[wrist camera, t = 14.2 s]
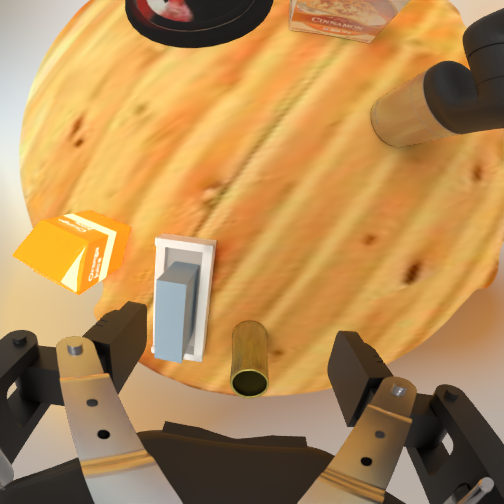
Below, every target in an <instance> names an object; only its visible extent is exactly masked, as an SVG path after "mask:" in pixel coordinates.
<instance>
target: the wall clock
mask: <svg viewBox="0 0 504 504" xmlns="http://www.w3.org/2000/svg"><path fill="white" fill-rule="evenodd" d="M272 3H273V0H125V10H126V14H127V17H128V19H129V21H130V23H131V24H132V26H133V27H134V28H135V29H136V30H137V31H138V32H139V33H140V34H141V35H143V36H145V37H147V38H149V39H150V40H152V41H155V42H158V43H161V44H164V45H169V46H175V47H187V48H198V47H207V46H214V45H218V44H222V43H226V42H229V41H232V40H234V39H237V38H239V37H242V36H243V35H245V34H247V33H248V32H250V31H252V30H253V29H255V28H256V27H257V26H258V25H259V24H260V23H261V22H262V21H263V20H264V19H265V17H266V16H267V14H268V13H269V11H270V9H271V6H272Z"/></svg>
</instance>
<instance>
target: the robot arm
mask: <svg viewBox="0 0 504 504" xmlns="http://www.w3.org/2000/svg"><path fill="white" fill-rule="evenodd" d="M463 46H464V51H465V54H466V57H467V60H468V63H469V66H470V70H471V71H470V70H469V69H468V68H466V67H465V66H463V65H462V64H460V63H457V62H454V61H443V62H440V63H438V64H436V65H434V66H432V67H431V68H429V69H427V70H426V71H424V72H422V73H421V74H419V75H417V76H416V77H414V78H412V79H411V80H409V81H407V82H406V83H404V84H403V85H401V86H399V87H398V88H396V89H394V90H393V91H391V92H390V93H388V94H386V95H385V96H383V97H382V98H380V99H379V100H377V101H376V102H375V104H374V105H373V108H372V111H371V121H372V125H373V128H374V130H375V132H376V133H377V135H378V136H379V137H380V138H381V139H382V140H383V141H384V142H385V143H387V144H389V145H391V146H395V147H401V146H406V145H411V144H419V143H423V142H428V141H433V140H438V139H443V138H445V137H450V136H455V135H461V134H466V133H471V132H478V131H484V130H491V129H500V128H504V8H503V9H501V10H498V11H496V12H493V13H491V14H489V15H487V16H485V17H483V18H481V19H479V20H478V21H476V22H474V23H473V24H472V25H470V26H469V27H468V28H467V29H466V31H465V32H464V35H463ZM146 341H147V307H146V305H145V304H141V303H136V302H131V301H128V302H127V303H126V304H125V305H124V306H123V307H122V308H121V309H120V310H114V311H111V312H109V313H106V314H105V315H104V316H103V317H102V318H101V319H100V320H99V321H98V322H97V323H96V324H95V325H94V326H93V327H92V328H90V329H89V330H88V331H87V332H86V333H85V334H84V335H83V336H82V337H79V336H78V337H77V336H72V337H67V338H64V339H62V340H61V341H59V342H58V343H57V345H56V347H46V346H38V341H37V337H36V335H35V334H34V333H32V332H30V331H26V330H17V331H13V332H10V333H9V334H7V335H6V336H4V337H3V338H2V339H1V340H0V504H406V503H404V502H402V501H401V500H399V499H397V498H396V497H394V496H393V495H391V494H390V493H388V492H386V491H385V490H386V488H387V486H388V484H389V481H390V479H391V477H392V474H393V472H394V469H395V467H396V465H397V462H398V459H399V457H400V454H401V452H402V449H403V446H404V447H406V448H407V451H408V453H409V455H410V458H411V460H412V462H413V465H414V467H415V469H416V471H417V474H418V476H419V478H420V481H421V483H422V486H423V488H424V490H425V493H426V495H427V498H428V500H429V503H430V504H504V444H503V443H502V441H501V440H500V438H499V437H498V436H497V435H496V433H495V432H494V430H493V429H492V428H491V427H490V425H489V424H488V423H487V421H486V420H485V419H484V417H483V416H482V415H481V413H480V412H479V411H478V410H477V408H476V407H475V406H474V405H473V403H472V402H471V401H470V400H469V398H468V397H467V396H466V395H465V393H464V392H463V391H462V390H460V389H459V388H456V387H454V386H452V385H446V384H444V385H439V386H438V387H437V388H436V390H435V392H434V394H433V395H426V394H419V393H417V389H416V387H415V386H414V385H413V384H412V383H411V382H410V381H408V380H406V379H404V378H400V377H394V376H393V375H392V373H391V372H390V370H389V369H388V368H387V366H386V365H385V363H383V360H382V359H381V357H379V355H378V353H377V352H376V350H375V349H374V348H372V347H371V346H369V345H368V344H367V343H364V342H363V340H362V339H361V337H360V336H359V334H358V333H357V332H353V331H339V332H338V333H337V335H336V339H335V342H334V346H333V349H332V352H331V356H330V359H329V362H328V377H329V379H330V382H331V384H332V387H333V390H334V392H335V395H336V398H337V400H338V403H339V406H340V408H341V411H342V414H343V416H344V419H345V422H346V424H347V427H354V428H353V430H352V432H351V433H350V435H349V436H348V438H347V439H346V441H345V442H344V444H343V445H342V447H341V448H340V450H339V451H338V453H337V454H336V455H335V456H334V455H332V454H330V453H328V452H326V451H323V450H320V449H317V448H313V447H309V446H307V442H306V437H297V436H273V435H271V436H264V437H254V438H243V439H234V438H230V437H227V436H223V435H220V434H217V433H214V432H211V431H208V430H205V429H202V428H199V427H194V426H187V425H182V424H177V423H172V422H167V421H165V424H164V427H163V430H152V431H143V432H138V433H136V432H135V430H134V428H133V426H132V424H131V422H130V420H129V418H128V416H127V414H126V412H125V409H124V407H123V405H122V403H121V401H120V399H119V397H118V394H119V392H120V391H121V389H122V387H123V385H124V383H125V382H126V380H127V379H128V377H129V375H130V374H131V372H132V370H133V369H134V367H135V365H136V364H137V362H138V360H139V359H140V357H141V355H142V354H143V352H144V350H145V347H146ZM14 382H15V383H16V386H17V389H16V390H15V391H14V392H13V394H11V396H10V397H9V398H8V399H7V391H8V389H9V387H10V386H11V385H12V384H13V383H14ZM51 404H54V405H61V406H65V409H66V413H67V418H68V422H69V426H70V430H71V433H72V437H73V441H74V444H75V447H76V451H77V454H78V458H75V459H73V460H70V461H67V462H65V463H62V464H60V465H57V466H54V467H52V468H49V469H46V470H43V471H40V472H38V473H34V474H31V475H29V476H25V477H22V478H19V479H16V480H14V481H13V477H14V471H13V468H12V466H11V465H12V463H13V462H14V460H15V458H16V457H17V455H18V453H19V452H20V450H21V449H22V447H23V445H24V444H25V442H26V441H27V439H28V438H29V436H30V434H31V433H32V431H33V430H34V428H35V427H36V425H37V424H38V422H39V421H40V419H41V418H42V416H43V415H44V414H45V412H46V410H47V409H48V408H49V406H50V405H51ZM447 432H448V434H449V435H450V437H451V439H452V441H453V451H452V453H451V455H449V453H448V452H447V450H446V448H445V446H444V444H443V443H442V440H443V438H444V437H445V435H446V434H447Z"/></svg>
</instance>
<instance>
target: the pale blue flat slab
mask: <svg viewBox="0 0 504 504" xmlns="http://www.w3.org/2000/svg"><path fill="white" fill-rule="evenodd" d="M198 275H199V265H198V264H192V263H185V262H179V261H175V262H174V263H173V264H172V265H171V266H170V267H169V268H168V269H167V270H166V271H165V272H164V273H163V274H162V275H161V276H160V277H159V278H158V279H157V282H156V304H155V358H158V359H163V360H168V361H173V362H178V363H182V360H183V358H184V355H185V352H186V350H187V347H188V344H189V342H190V339H191V336H192V334H193V329H194V317H195V305H196V295H197V285H198Z"/></svg>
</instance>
